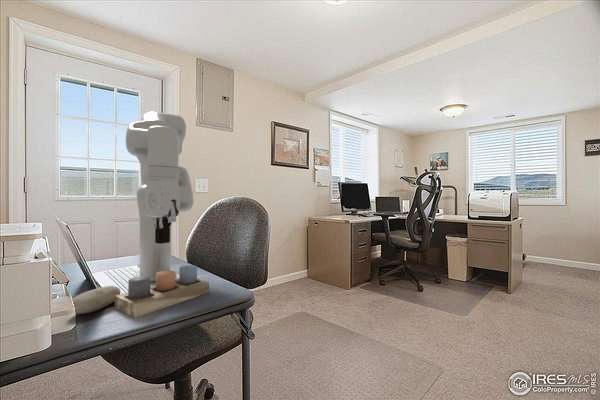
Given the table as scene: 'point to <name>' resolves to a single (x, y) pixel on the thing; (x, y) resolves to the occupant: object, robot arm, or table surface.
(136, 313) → the birch board
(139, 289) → the charcoal button
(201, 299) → the table surface
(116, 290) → the stone
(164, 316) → the table surface
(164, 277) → the terracotta button
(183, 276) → the slate button
